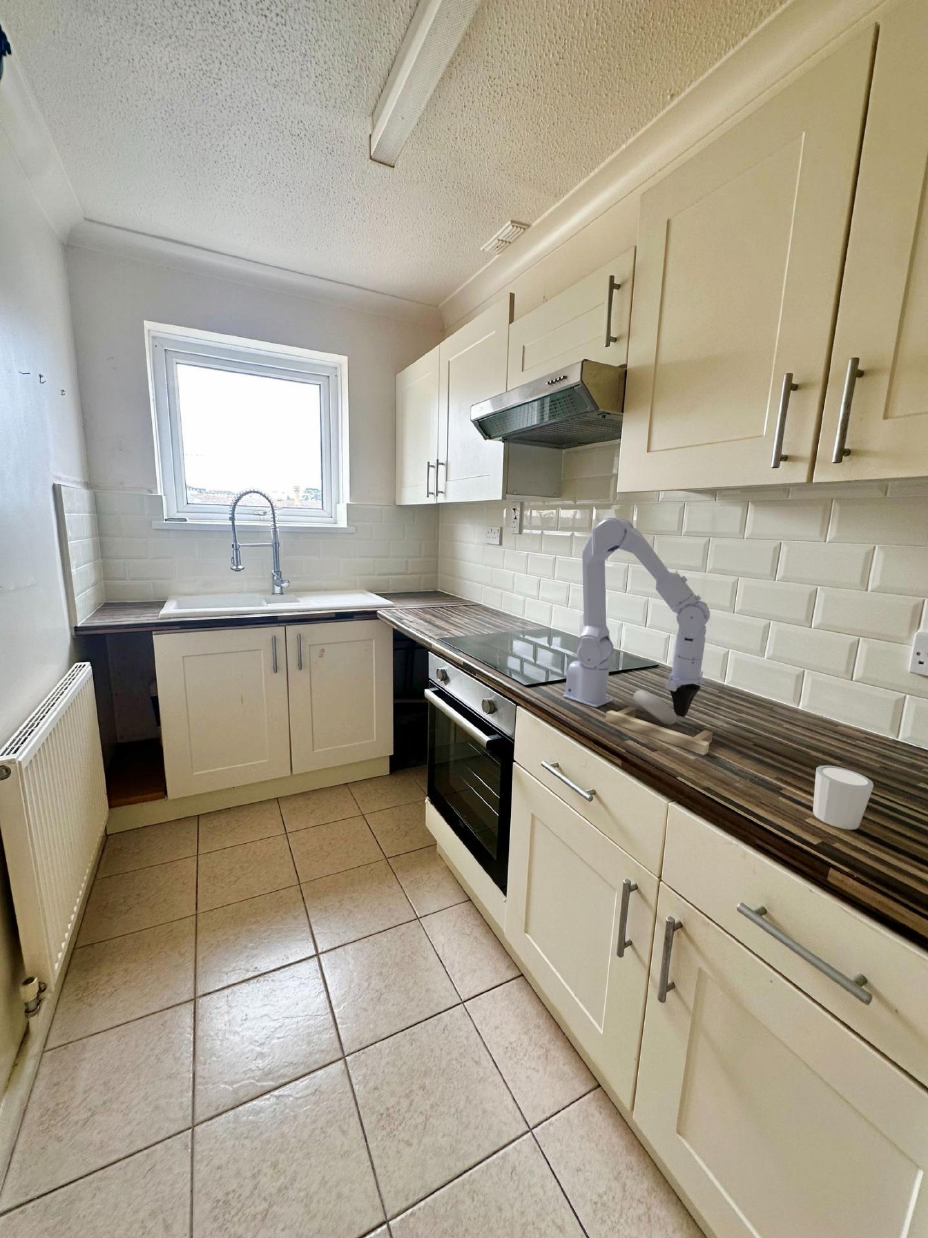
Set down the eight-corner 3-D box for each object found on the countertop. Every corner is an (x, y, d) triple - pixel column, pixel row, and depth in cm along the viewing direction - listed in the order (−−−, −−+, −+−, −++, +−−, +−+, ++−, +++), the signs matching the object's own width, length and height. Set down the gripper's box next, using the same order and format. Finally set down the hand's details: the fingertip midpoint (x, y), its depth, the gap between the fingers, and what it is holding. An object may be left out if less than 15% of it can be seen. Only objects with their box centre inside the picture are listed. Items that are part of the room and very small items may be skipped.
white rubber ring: (689, 721, 103) (656, 696, 100) (679, 734, 103) (646, 709, 100) (662, 704, 112) (631, 681, 110) (652, 716, 113) (622, 693, 110)
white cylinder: (872, 837, 70) (882, 792, 69) (815, 824, 72) (823, 781, 71) (854, 812, 76) (863, 770, 75) (802, 801, 79) (810, 761, 77)
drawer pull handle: (605, 720, 108) (606, 712, 108) (623, 712, 114) (624, 704, 113) (703, 755, 94) (705, 745, 93) (719, 744, 99) (720, 734, 99)
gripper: (693, 665, 100) (684, 728, 102) (719, 655, 110) (711, 713, 112) (659, 658, 105) (652, 718, 107) (687, 649, 115) (680, 704, 117)
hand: (680, 715), depth 110 cm, fingers closed
